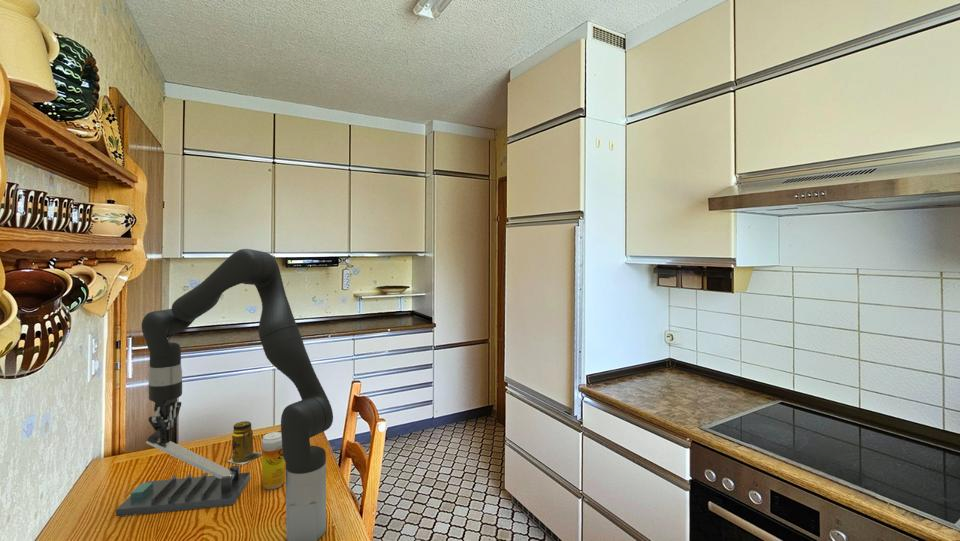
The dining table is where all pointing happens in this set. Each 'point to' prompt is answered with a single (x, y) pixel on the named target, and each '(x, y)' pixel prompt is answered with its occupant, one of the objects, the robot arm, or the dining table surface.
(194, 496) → the clamp base
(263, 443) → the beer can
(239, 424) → the condiment
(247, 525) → the dining table surface
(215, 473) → the bar
